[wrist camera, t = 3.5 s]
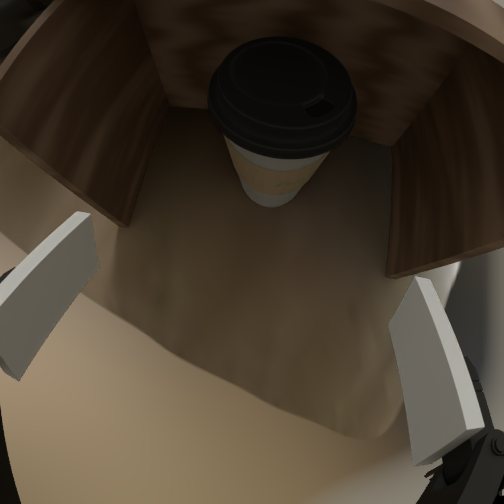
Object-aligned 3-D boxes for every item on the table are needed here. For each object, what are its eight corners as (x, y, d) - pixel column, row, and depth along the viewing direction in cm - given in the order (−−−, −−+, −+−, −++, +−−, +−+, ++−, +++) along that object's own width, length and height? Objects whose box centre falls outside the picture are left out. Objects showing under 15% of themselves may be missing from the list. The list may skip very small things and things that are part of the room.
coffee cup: (294, 241, 29) (337, 171, 14) (205, 199, 30) (171, 104, 15) (329, 162, 31) (379, 63, 16) (248, 127, 31) (248, 16, 17)
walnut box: (118, 225, 29) (-41, 99, 7) (164, 97, 32) (109, -61, 10) (395, 279, 28) (588, 215, 6) (400, 142, 31) (502, 7, 10)
